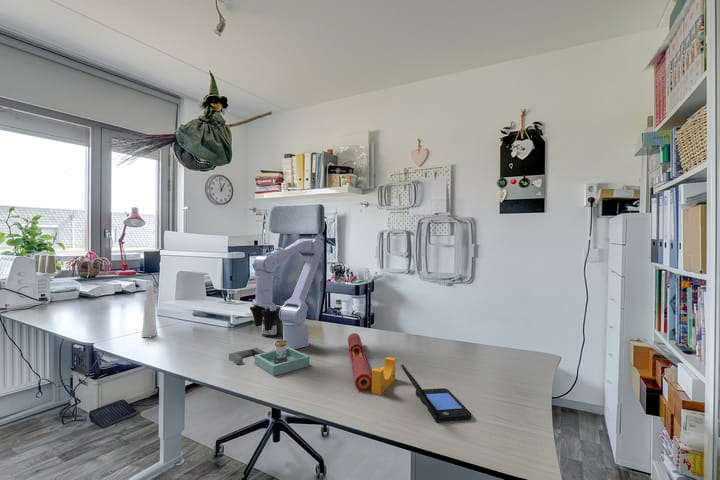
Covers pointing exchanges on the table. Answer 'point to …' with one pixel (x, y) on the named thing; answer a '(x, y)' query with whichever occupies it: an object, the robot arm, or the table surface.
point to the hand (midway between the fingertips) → (263, 328)
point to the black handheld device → (440, 402)
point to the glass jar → (280, 352)
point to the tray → (293, 363)
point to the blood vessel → (359, 363)
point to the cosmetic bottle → (149, 313)
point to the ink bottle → (274, 326)
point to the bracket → (237, 356)
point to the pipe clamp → (383, 376)
